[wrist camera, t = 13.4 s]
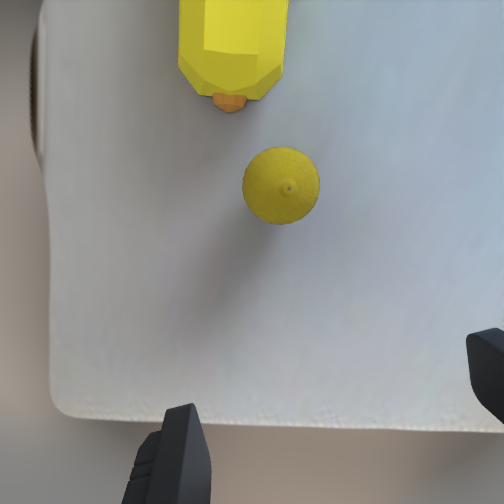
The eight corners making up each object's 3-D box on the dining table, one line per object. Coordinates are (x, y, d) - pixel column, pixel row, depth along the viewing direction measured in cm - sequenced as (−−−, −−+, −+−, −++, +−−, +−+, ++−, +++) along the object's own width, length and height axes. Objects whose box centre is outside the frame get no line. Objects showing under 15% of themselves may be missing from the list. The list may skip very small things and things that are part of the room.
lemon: (281, 230, 32) (297, 249, 24) (227, 192, 31) (226, 198, 23) (320, 176, 31) (350, 178, 23) (266, 135, 30) (279, 123, 23)
